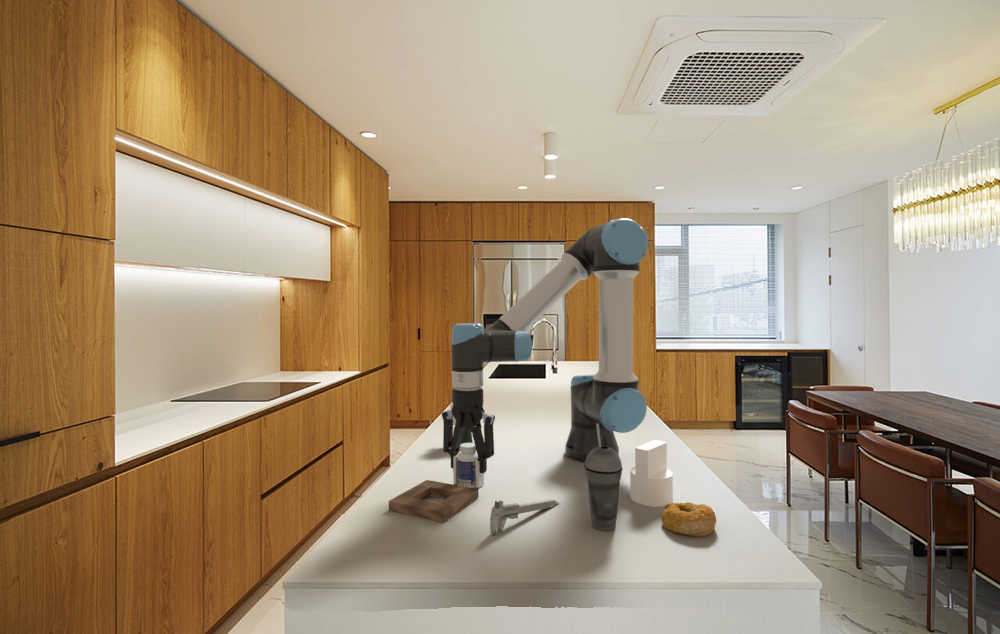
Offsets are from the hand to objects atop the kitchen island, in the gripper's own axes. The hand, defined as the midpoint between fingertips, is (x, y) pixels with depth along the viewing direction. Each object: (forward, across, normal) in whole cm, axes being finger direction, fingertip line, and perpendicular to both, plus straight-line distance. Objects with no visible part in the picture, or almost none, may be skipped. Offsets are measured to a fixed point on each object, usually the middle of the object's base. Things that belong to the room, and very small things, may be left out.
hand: (468, 483), depth 120 cm
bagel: (+1, +50, -1) cm, 50 cm away
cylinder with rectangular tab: (+1, +41, +10) cm, 42 cm away
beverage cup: (+1, +35, -8) cm, 36 cm away
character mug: (+1, -19, +29) cm, 35 cm away
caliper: (+1, +20, -11) cm, 23 cm away
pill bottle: (+1, 0, 0) cm, 1 cm away
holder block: (0, -1, -13) cm, 13 cm away
